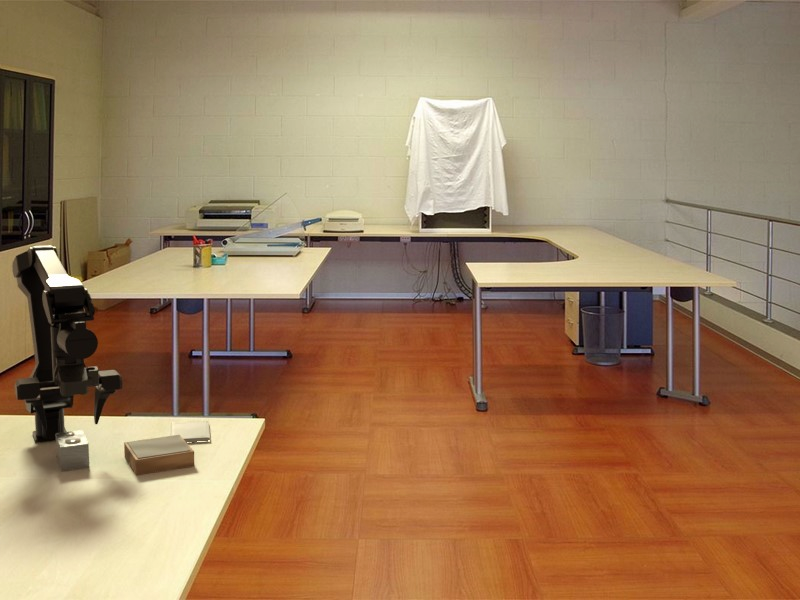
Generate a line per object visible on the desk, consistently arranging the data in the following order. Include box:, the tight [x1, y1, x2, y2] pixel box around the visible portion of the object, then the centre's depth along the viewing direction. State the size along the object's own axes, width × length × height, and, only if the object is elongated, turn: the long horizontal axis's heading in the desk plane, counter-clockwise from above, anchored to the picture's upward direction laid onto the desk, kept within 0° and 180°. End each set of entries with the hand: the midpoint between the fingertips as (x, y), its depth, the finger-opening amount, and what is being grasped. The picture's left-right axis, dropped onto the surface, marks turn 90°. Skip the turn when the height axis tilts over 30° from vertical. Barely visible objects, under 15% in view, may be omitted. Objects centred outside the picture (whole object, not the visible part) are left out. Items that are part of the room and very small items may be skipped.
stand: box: [123, 435, 195, 476], centre depth 158 cm, size 11×11×3 cm
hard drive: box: [170, 419, 211, 444], centre depth 175 cm, size 2×8×12 cm
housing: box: [55, 429, 90, 473], centre depth 157 cm, size 9×5×5 cm, turn 28°
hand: (71, 427), depth 156 cm, fingers open, 9 cm apart
